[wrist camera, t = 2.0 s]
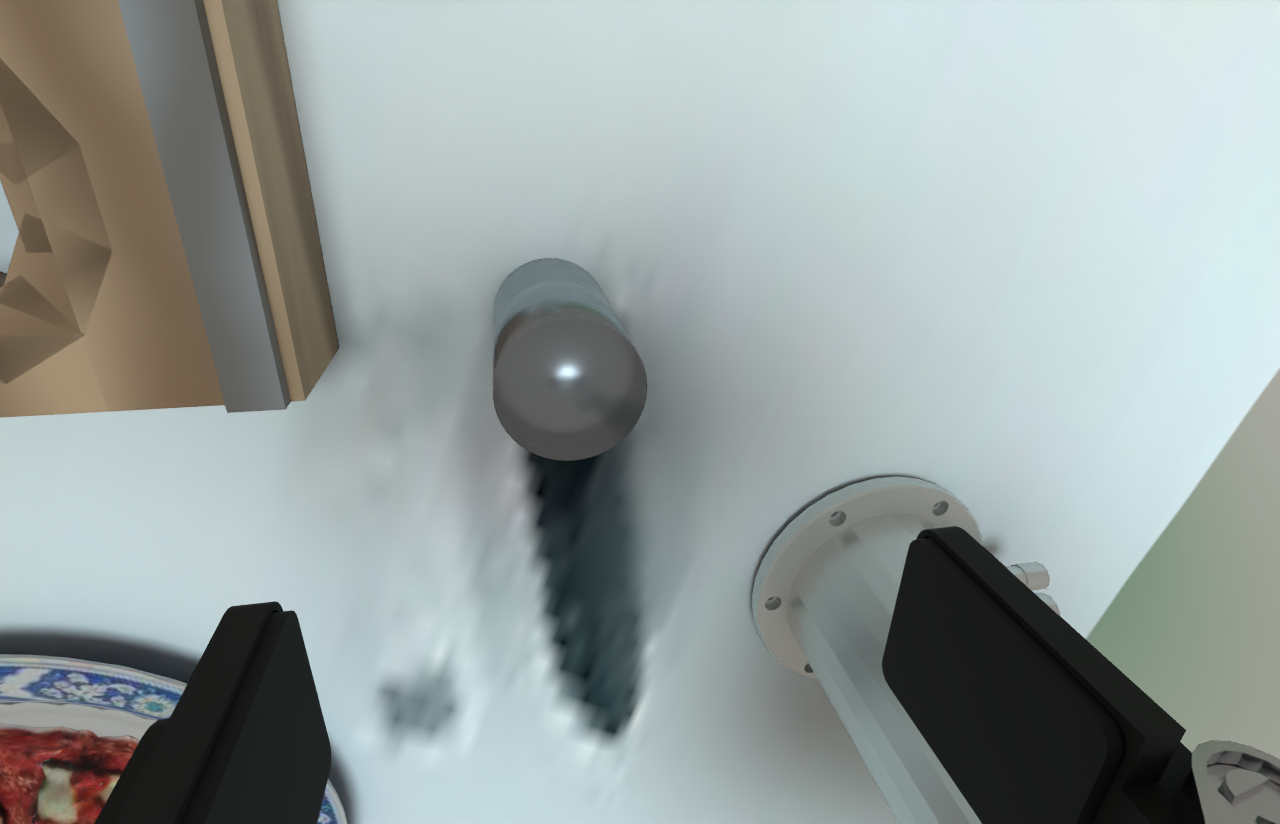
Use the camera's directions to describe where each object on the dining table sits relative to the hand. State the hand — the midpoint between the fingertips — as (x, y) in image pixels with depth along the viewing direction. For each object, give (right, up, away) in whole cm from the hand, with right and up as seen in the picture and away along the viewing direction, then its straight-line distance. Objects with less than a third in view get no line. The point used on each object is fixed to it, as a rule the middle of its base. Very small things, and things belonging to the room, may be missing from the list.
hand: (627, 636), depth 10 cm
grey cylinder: (-3, +7, +16) cm, 18 cm away
